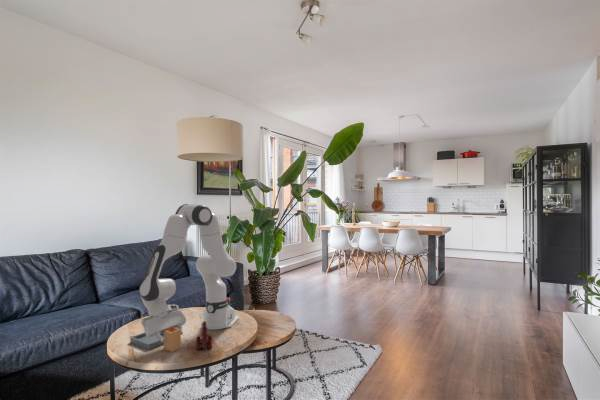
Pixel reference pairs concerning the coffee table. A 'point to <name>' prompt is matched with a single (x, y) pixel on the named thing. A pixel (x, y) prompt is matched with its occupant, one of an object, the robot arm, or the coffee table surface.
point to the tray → (146, 341)
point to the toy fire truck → (204, 339)
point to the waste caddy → (172, 339)
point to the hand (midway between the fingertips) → (172, 337)
